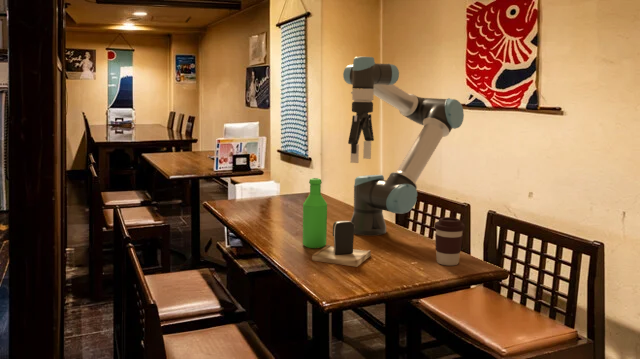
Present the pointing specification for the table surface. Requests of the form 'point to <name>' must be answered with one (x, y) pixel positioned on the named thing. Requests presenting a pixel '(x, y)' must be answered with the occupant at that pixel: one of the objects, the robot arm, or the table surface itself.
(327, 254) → the board
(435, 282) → the table surface
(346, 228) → the battery charger
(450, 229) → the coffee cup
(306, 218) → the bottle
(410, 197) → the robot arm
